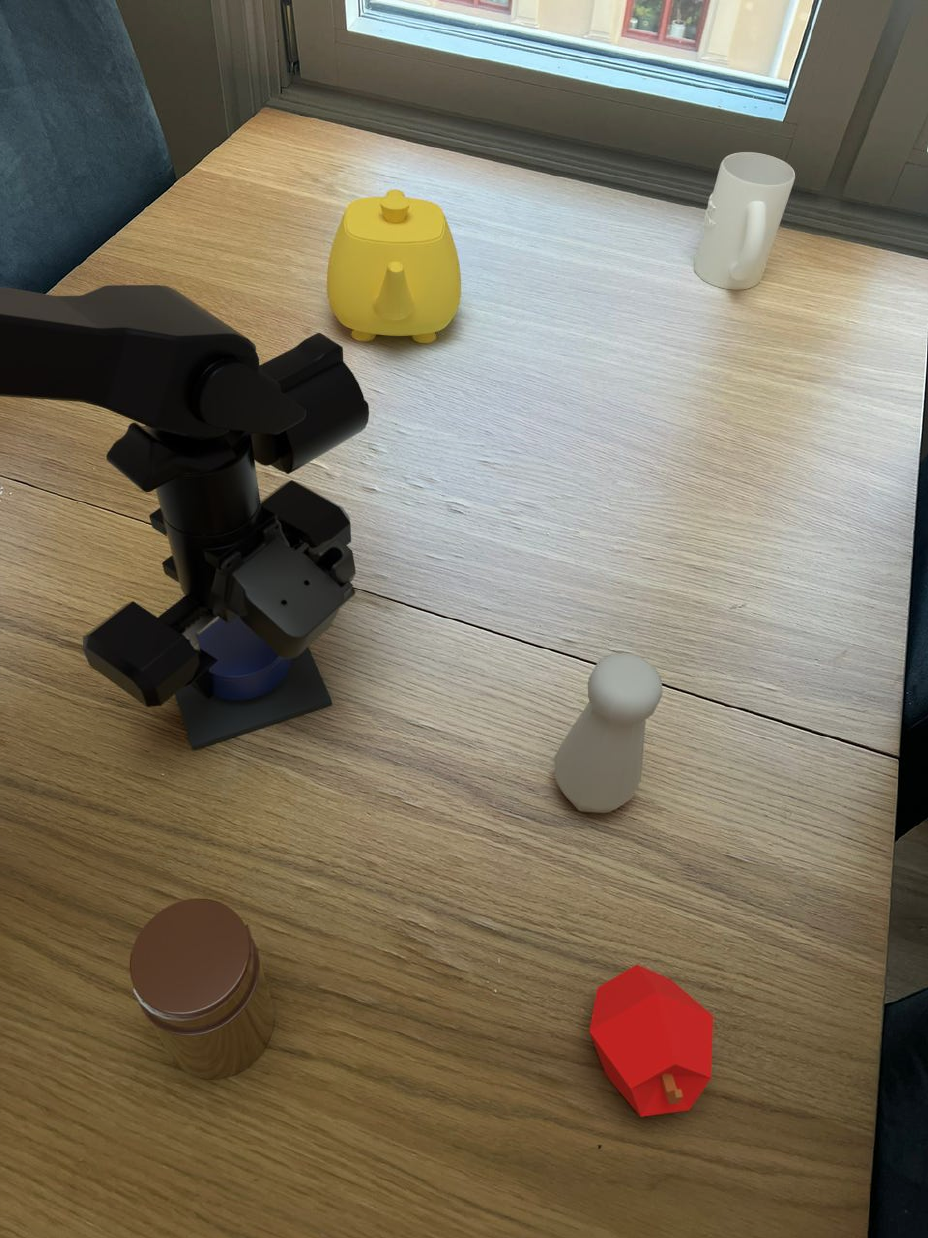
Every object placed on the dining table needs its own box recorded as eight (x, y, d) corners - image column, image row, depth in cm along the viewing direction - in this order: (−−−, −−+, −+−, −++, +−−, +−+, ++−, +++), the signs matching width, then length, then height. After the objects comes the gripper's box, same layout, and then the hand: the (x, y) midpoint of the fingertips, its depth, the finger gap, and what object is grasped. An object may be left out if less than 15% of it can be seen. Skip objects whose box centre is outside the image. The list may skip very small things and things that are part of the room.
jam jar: (179, 1099, 50) (140, 1041, 42) (154, 993, 53) (113, 921, 45) (288, 1051, 52) (270, 987, 44) (256, 952, 55) (234, 876, 47)
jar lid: (274, 613, 70) (270, 588, 68) (305, 681, 66) (302, 657, 64) (182, 641, 68) (175, 616, 65) (208, 713, 64) (202, 689, 62)
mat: (193, 751, 64) (191, 746, 63) (159, 644, 69) (157, 639, 69) (332, 705, 67) (332, 700, 66) (289, 606, 72) (288, 601, 72)
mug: (698, 305, 104) (728, 199, 95) (688, 251, 112) (715, 148, 103) (771, 312, 104) (808, 207, 95) (756, 257, 112) (789, 155, 103)
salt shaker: (534, 765, 65) (561, 650, 55) (607, 740, 66) (645, 624, 56) (573, 837, 61) (610, 729, 51) (648, 809, 63) (697, 698, 53)
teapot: (456, 277, 105) (463, 161, 95) (463, 385, 92) (472, 265, 82) (332, 272, 104) (327, 155, 94) (322, 381, 91) (314, 259, 81)
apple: (587, 934, 52) (630, 1064, 45) (699, 939, 53) (757, 1065, 46) (555, 1018, 55) (590, 1151, 48) (661, 1021, 56) (711, 1150, 49)
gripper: (191, 669, 47) (231, 817, 59) (415, 478, 57) (410, 637, 69) (45, 568, 51) (110, 727, 63) (280, 405, 61) (297, 568, 73)
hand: (242, 662), depth 67 cm, fingers closed on jar lid, 7 cm apart
